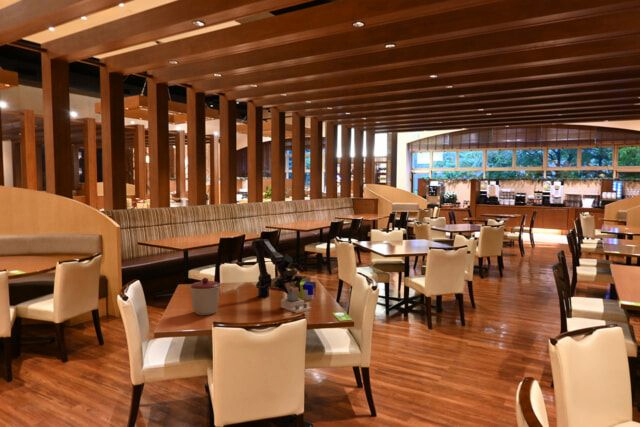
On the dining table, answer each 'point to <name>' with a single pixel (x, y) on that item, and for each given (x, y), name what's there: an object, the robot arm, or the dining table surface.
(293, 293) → the grey tall block
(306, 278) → the bolt corral
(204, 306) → the canister
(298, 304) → the chassis
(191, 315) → the dining table surface
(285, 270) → the robot arm
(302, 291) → the puzzle toy
